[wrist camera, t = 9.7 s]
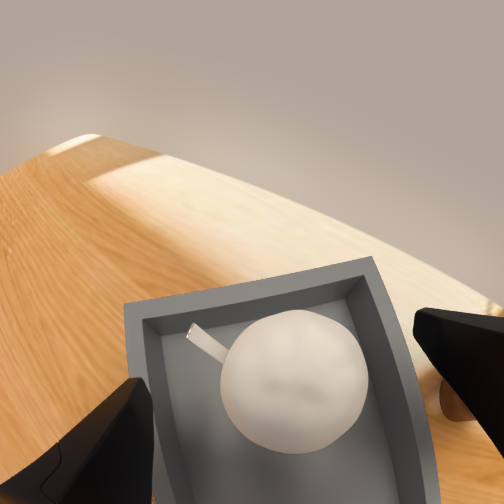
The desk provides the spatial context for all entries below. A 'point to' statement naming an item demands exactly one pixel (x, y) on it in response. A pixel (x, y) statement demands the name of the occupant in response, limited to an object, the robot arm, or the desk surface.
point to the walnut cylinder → (453, 404)
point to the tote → (251, 454)
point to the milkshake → (290, 380)
